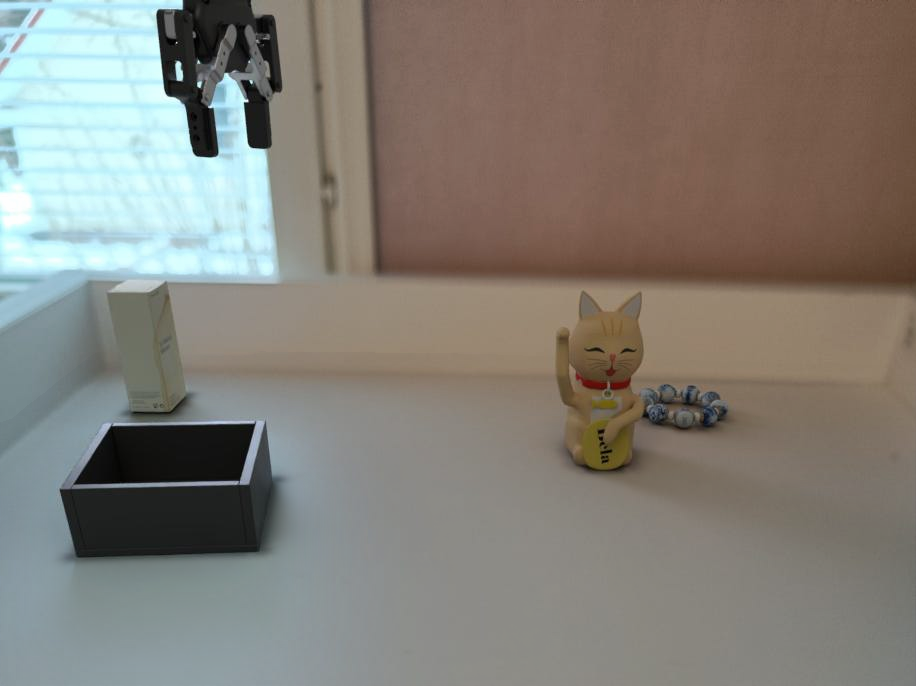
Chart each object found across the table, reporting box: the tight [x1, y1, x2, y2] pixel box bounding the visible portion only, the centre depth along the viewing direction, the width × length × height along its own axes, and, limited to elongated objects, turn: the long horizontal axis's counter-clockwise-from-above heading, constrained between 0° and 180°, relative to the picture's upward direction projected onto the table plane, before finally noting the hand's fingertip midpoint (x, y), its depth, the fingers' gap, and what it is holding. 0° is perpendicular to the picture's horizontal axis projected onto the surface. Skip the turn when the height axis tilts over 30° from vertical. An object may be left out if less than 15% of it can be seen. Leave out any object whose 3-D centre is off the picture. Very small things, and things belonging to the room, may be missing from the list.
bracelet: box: [638, 383, 729, 429], centre depth 98 cm, size 10×10×2 cm
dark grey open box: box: [59, 420, 273, 558], centre depth 74 cm, size 14×14×6 cm
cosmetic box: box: [105, 279, 187, 413], centre depth 94 cm, size 6×4×12 cm
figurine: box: [554, 290, 645, 471], centre depth 84 cm, size 9×10×15 cm
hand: (234, 152), depth 81 cm, fingers open, 8 cm apart
